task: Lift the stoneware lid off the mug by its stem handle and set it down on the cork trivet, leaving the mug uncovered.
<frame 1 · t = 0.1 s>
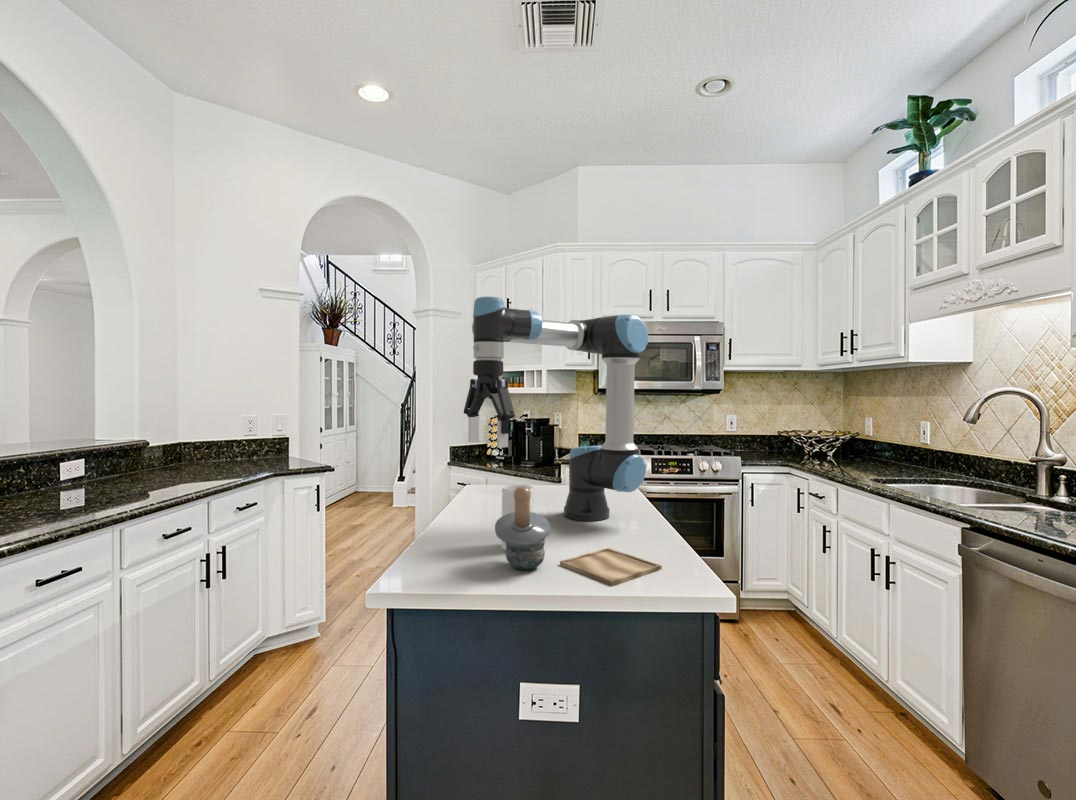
hand: (487, 444, 136), 28 cm above the countertop, fingers open, 13 cm apart
mug: (521, 566, 129), on the countertop
cup: (517, 547, 143), on the countertop
lid: (522, 529, 128), point 9 cm above the countertop, tilted 17°
trivet: (610, 567, 129), on the countertop
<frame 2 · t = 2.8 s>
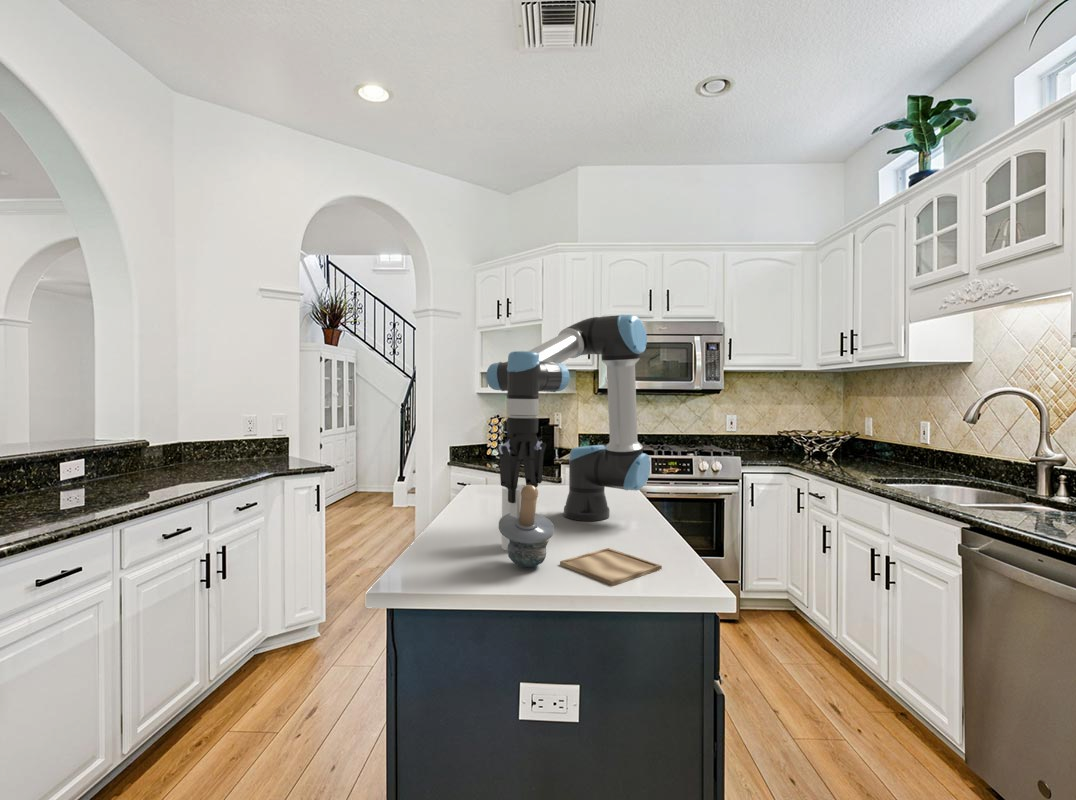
hand: (521, 514, 129), 12 cm above the countertop, fingers closed on lid, 3 cm apart
mug: (521, 564, 129), on the countertop, touching lid
lid: (525, 528, 128), point 9 cm above the countertop, tilted 15°, touching gripper, mug
everything else where it was.
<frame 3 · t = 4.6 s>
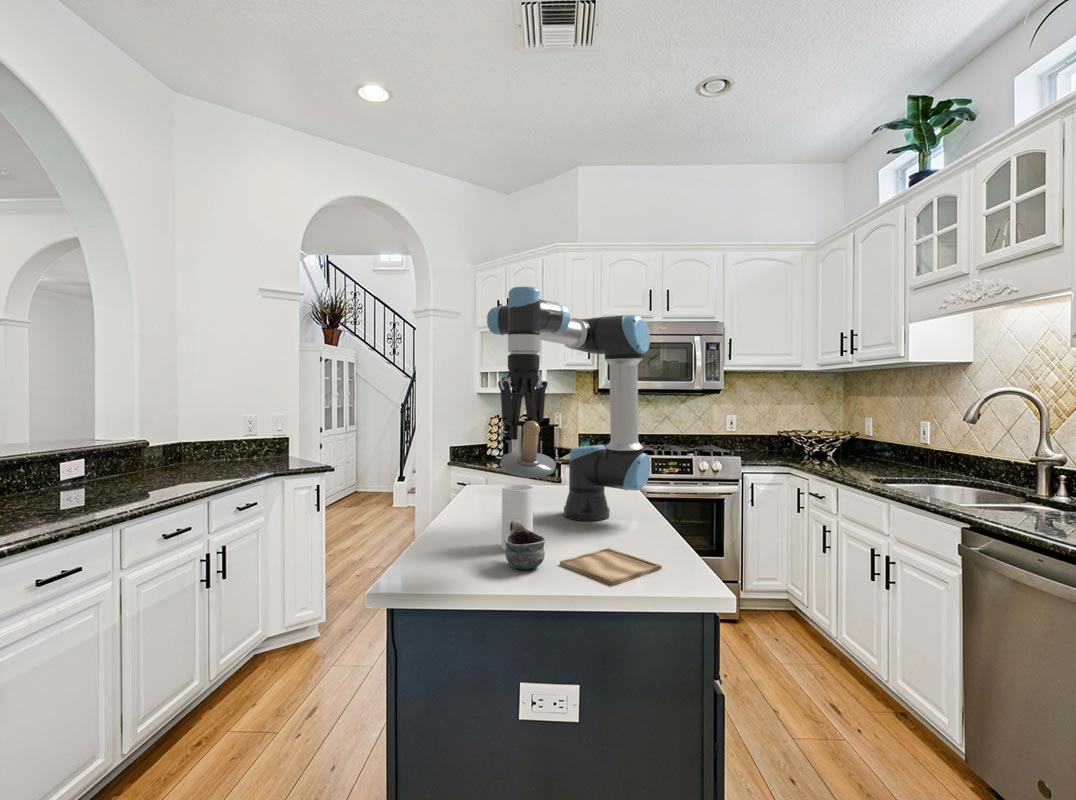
hand: (523, 452, 128), 27 cm above the countertop, fingers closed on lid, 3 cm apart
mug: (521, 566, 129), on the countertop
lid: (528, 465, 127), point 24 cm above the countertop, tilted 15°, touching gripper
everything else where it was.
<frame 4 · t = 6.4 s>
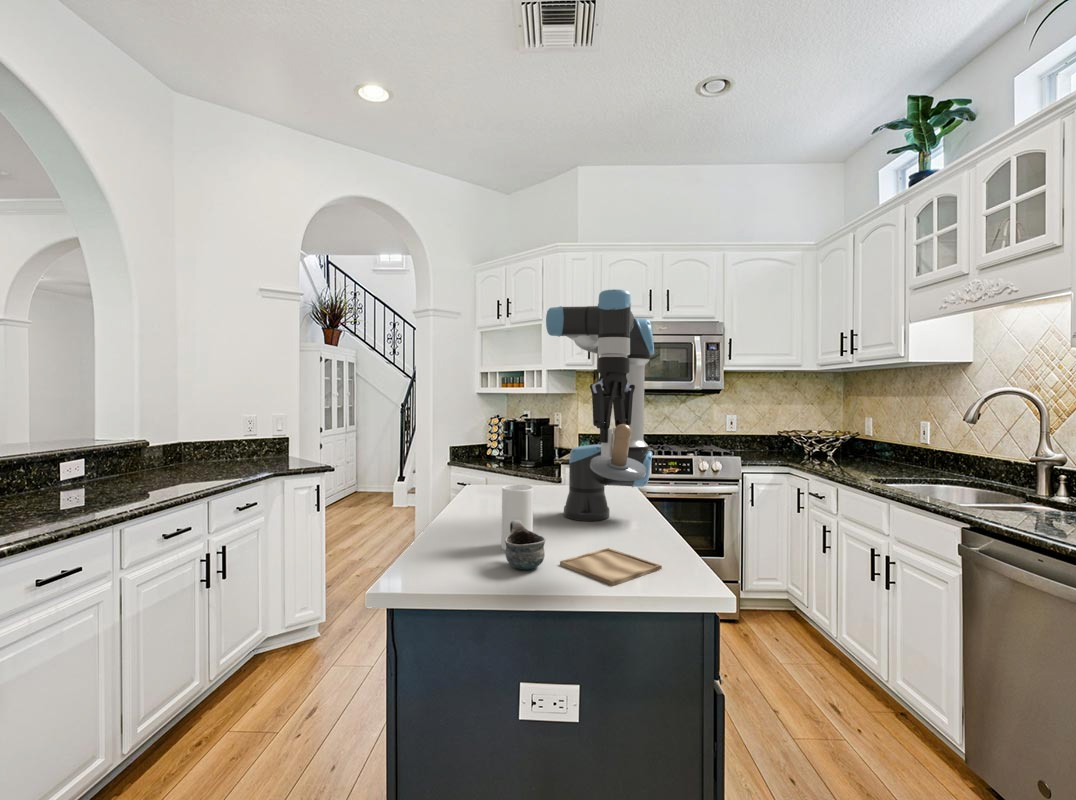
hand: (611, 455, 128), 27 cm above the countertop, fingers closed on lid, 3 cm apart
lid: (617, 469, 127), point 24 cm above the countertop, tilted 15°, touching gripper
everything else where it was.
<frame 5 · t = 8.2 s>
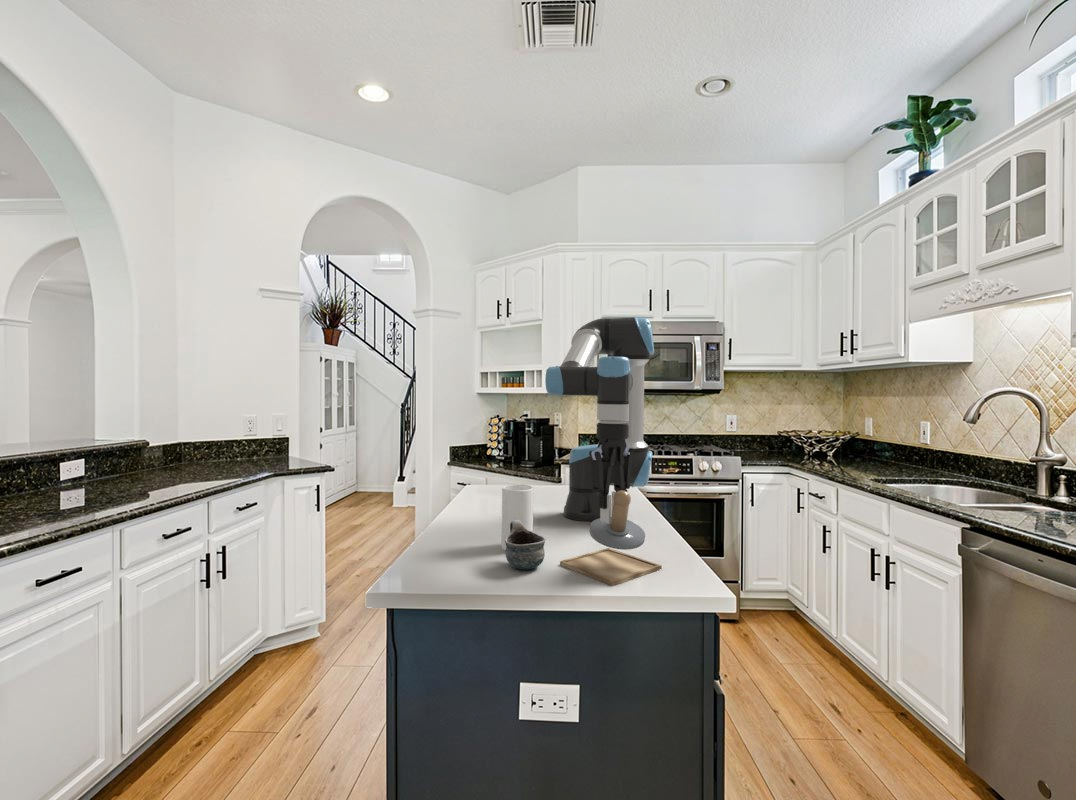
hand: (611, 520, 128), 11 cm above the countertop, fingers closed on lid, 3 cm apart
lid: (616, 534, 127), point 8 cm above the countertop, tilted 15°, touching gripper
everything else where it was.
when the fingers open (4 cm above the countertop, at t = 9.6 s): lid stays where it is, resting on trivet.
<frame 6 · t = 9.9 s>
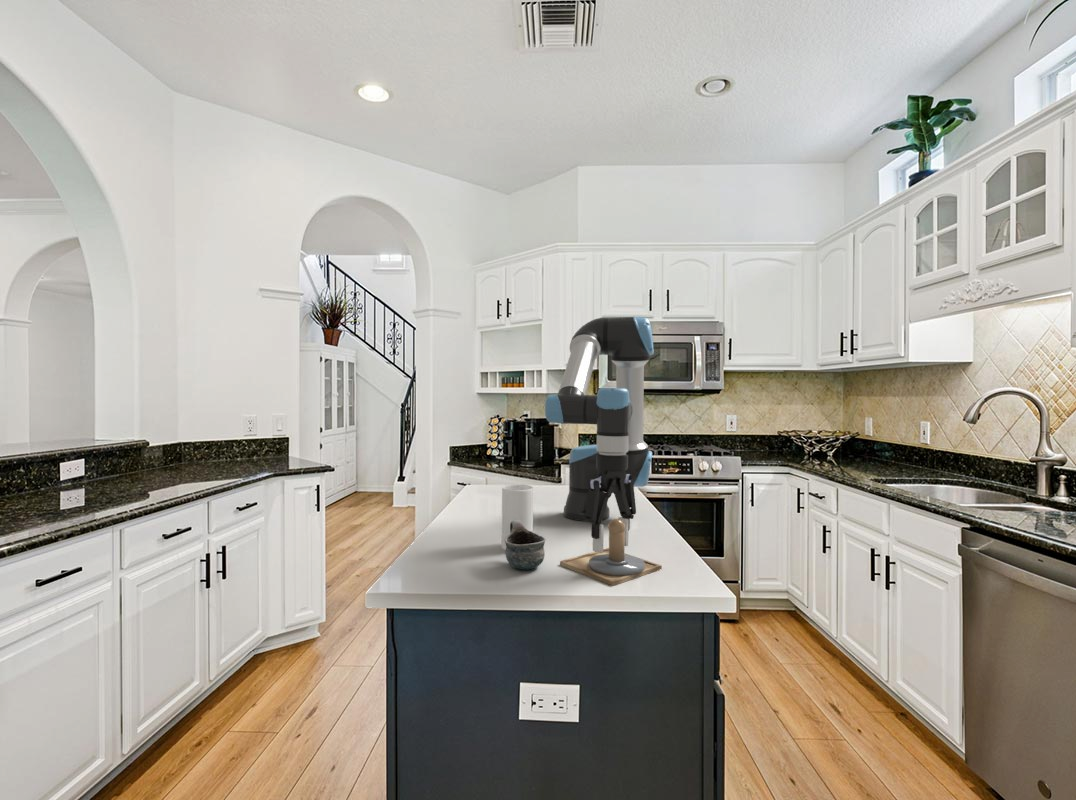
hand: (610, 548, 129), 5 cm above the countertop, fingers open, 8 cm apart
lid: (616, 566, 127), point 1 cm above the countertop, touching trivet
everything else where it was.
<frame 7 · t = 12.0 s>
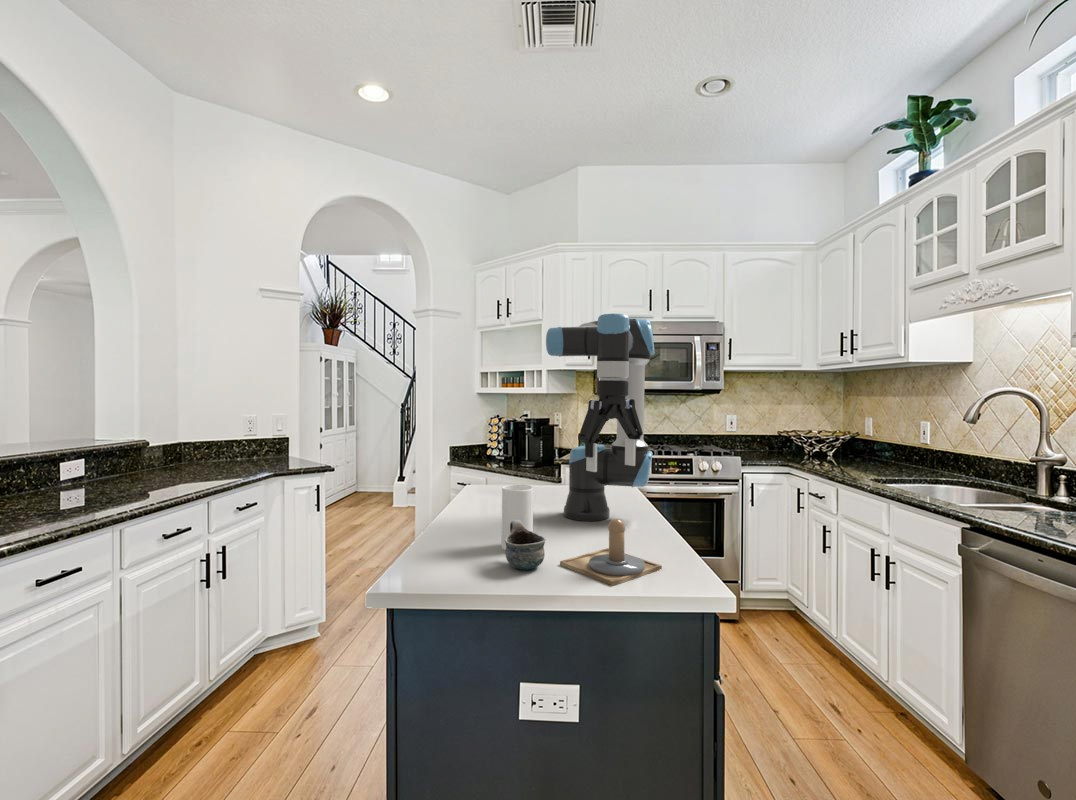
hand: (611, 468, 130), 23 cm above the countertop, fingers open, 13 cm apart
nothing on the countertop moved.
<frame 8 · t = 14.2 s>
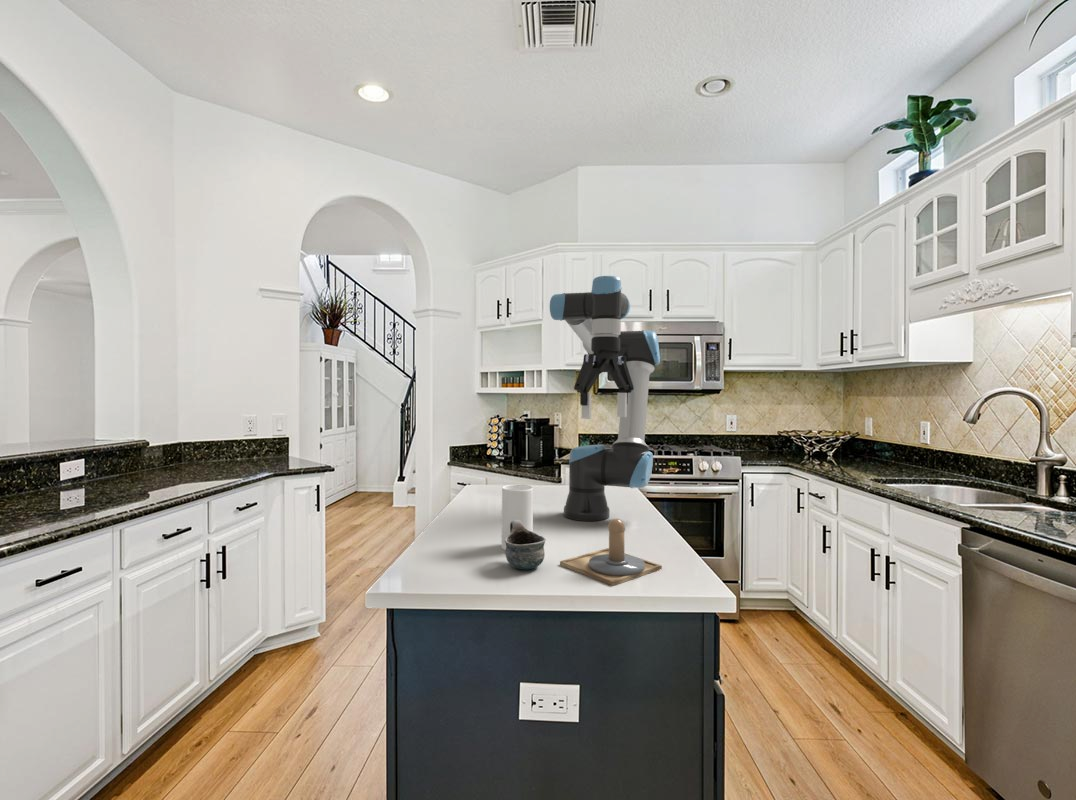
hand: (604, 417, 142), 35 cm above the countertop, fingers open, 13 cm apart
nothing on the countertop moved.
at the end: lid inside the target area on the trivet (2.1 cm from its centre), point 0.8 cm above the trivet's base; lid tilted 1°; the gripper is holding nothing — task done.
